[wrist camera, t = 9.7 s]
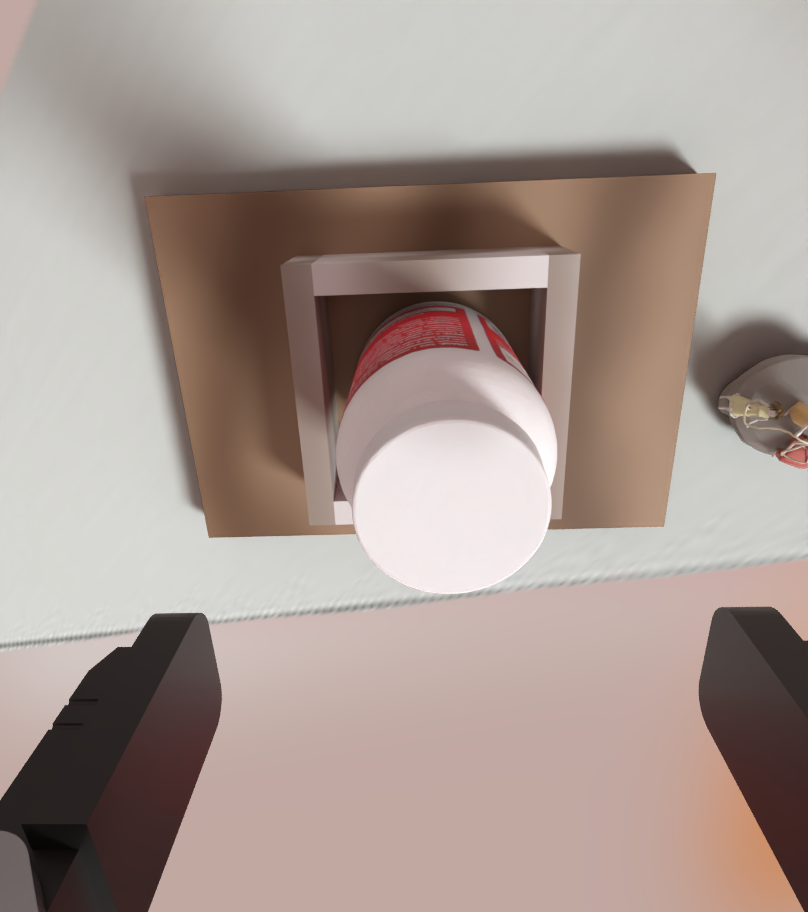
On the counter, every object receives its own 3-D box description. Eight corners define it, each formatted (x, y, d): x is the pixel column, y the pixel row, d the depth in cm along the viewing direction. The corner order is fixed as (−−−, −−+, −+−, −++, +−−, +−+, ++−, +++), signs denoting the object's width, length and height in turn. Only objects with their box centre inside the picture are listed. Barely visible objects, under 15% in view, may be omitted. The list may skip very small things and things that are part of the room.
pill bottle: (334, 414, 25) (280, 568, 15) (394, 271, 23) (378, 339, 13) (472, 471, 26) (509, 652, 16) (543, 338, 24) (638, 452, 14)
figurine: (857, 342, 25) (948, 394, 20) (828, 442, 27) (904, 514, 22) (717, 341, 26) (768, 390, 21) (699, 437, 28) (741, 505, 22)
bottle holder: (698, 173, 23) (760, 170, 19) (651, 510, 28) (692, 565, 24) (160, 196, 23) (105, 198, 19) (218, 520, 29) (185, 576, 25)
